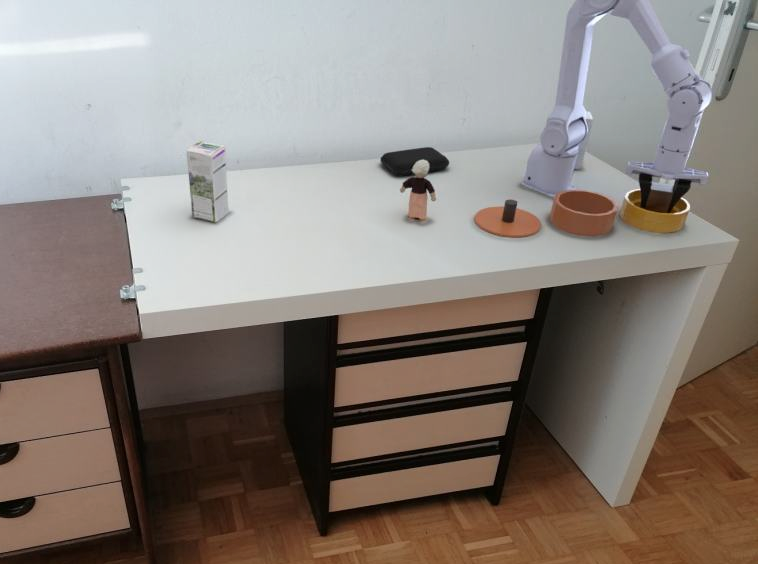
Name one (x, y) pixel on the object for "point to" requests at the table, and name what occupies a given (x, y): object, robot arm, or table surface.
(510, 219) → the lid
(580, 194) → the pot
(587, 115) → the cosmetic box
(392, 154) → the carrying case
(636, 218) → the bowl
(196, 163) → the syrup box
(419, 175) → the grandmother figurine
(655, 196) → the walnut block
